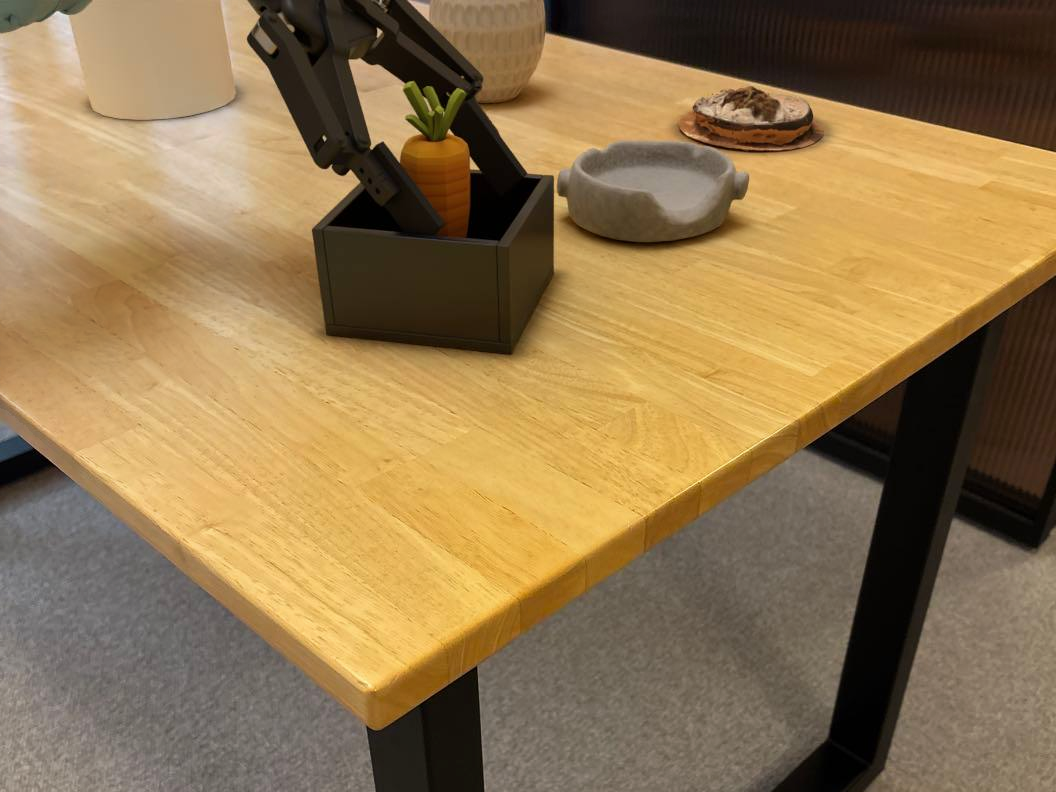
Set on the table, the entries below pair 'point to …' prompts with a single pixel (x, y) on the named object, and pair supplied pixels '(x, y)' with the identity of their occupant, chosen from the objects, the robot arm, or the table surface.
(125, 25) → the canister
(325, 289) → the black open box
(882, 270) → the table surface
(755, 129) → the cake
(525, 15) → the vase
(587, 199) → the dish
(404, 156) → the carrot
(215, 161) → the table surface
